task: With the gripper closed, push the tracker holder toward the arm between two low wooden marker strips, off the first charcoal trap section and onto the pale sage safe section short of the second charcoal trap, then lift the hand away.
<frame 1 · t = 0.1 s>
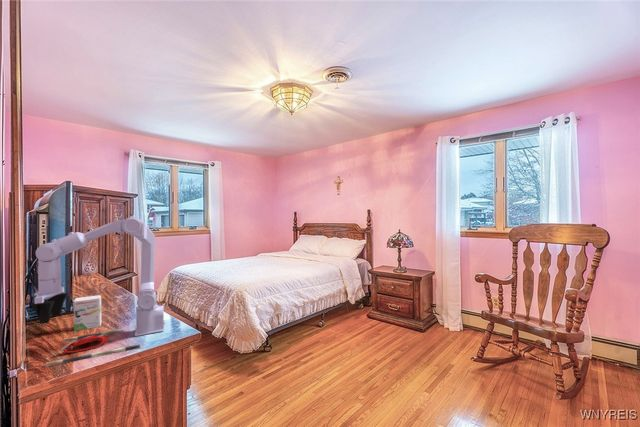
hand: (50, 319, 101), 10 cm above the table, tool pointing down, fingers open, 7 cm apart
ink box: (88, 327, 120), on the table
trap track: (97, 344, 103), on the table
tracker holder: (84, 348, 102), on the table
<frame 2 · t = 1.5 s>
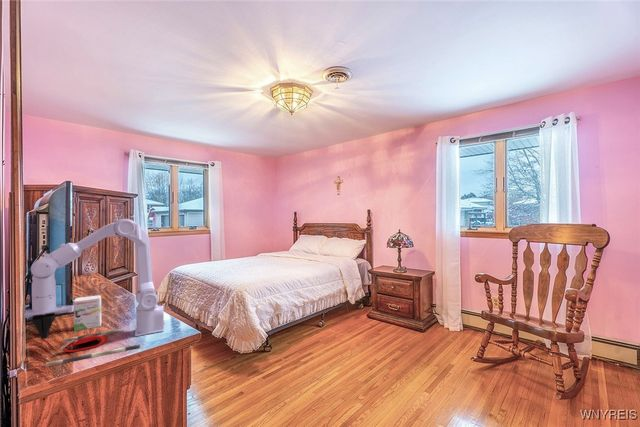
hand: (44, 337, 96), 5 cm above the table, tool pointing down, fingers closed
nothing on the table moved.
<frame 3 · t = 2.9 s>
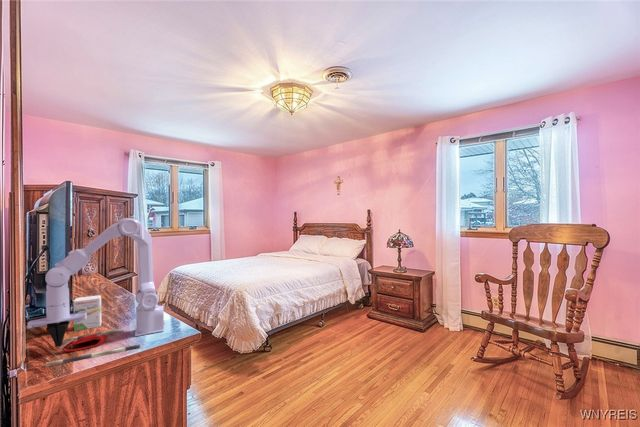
hand: (58, 345, 98), 2 cm above the table, tool pointing down, fingers closed
tracker holder: (83, 347, 103), on the table, touching gripper
everything else where it was.
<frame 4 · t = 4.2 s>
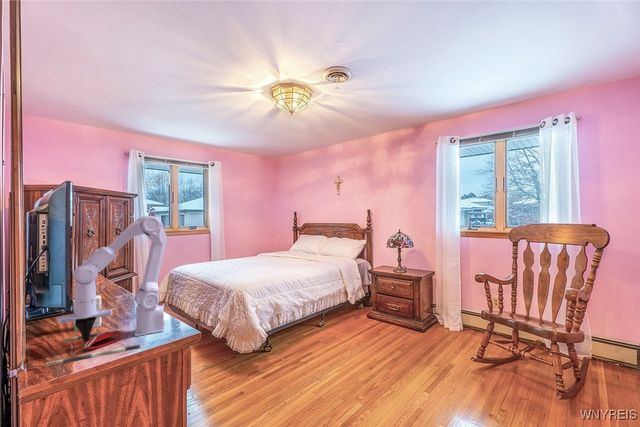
hand: (86, 340, 102), 2 cm above the table, tool pointing down, fingers closed
tracker holder: (99, 345, 104), on the table
everything else where it was.
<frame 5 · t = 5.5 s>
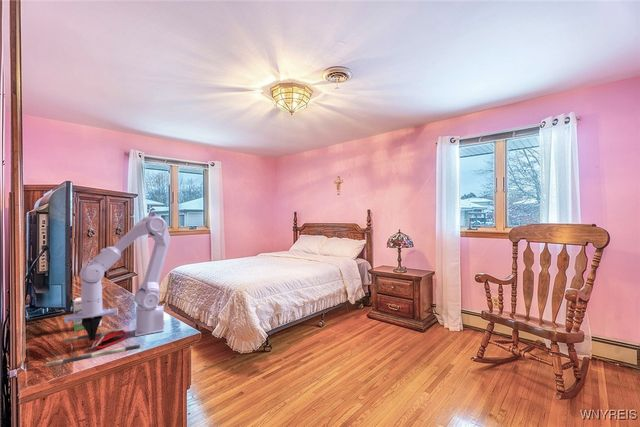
hand: (92, 339, 103), 2 cm above the table, tool pointing down, fingers closed
tracker holder: (104, 345, 104), on the table
everything else where it was.
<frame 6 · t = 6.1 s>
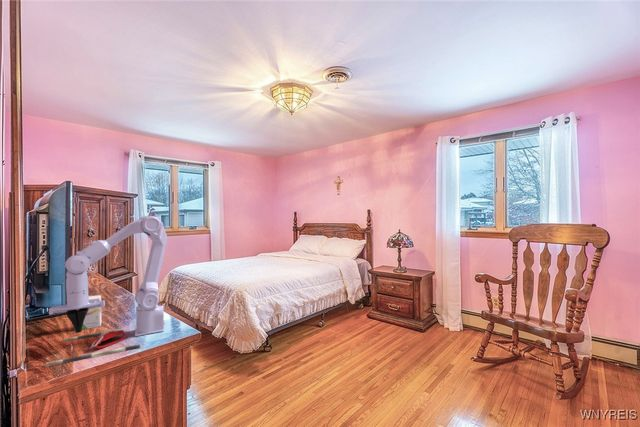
hand: (78, 331, 101), 6 cm above the table, tool pointing down, fingers closed
nothing on the table moved.
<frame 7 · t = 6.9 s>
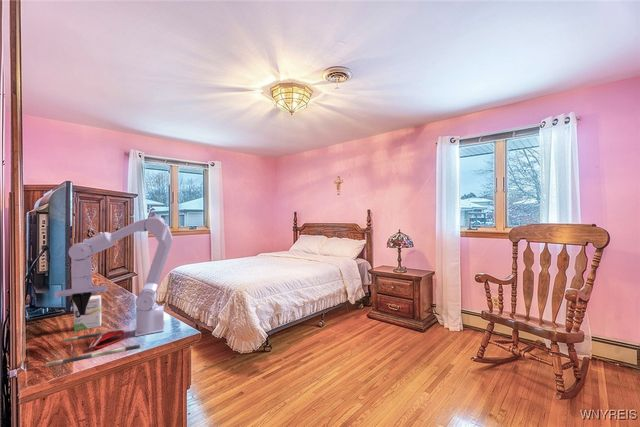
hand: (82, 314, 107), 9 cm above the table, tool pointing down, fingers closed
nothing on the table moved.
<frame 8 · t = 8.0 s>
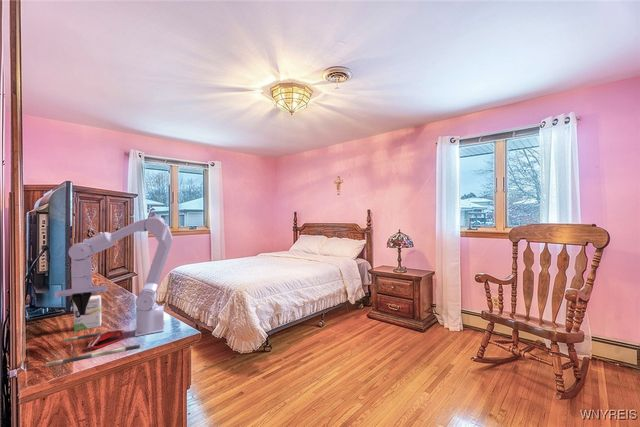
hand: (82, 314, 107), 9 cm above the table, tool pointing down, fingers closed
at the end: tracker holder inside the target area (3.4 cm from its centre), on the table; tracker holder tilted 0°; tracker holder moved 4.7 cm from its start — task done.
